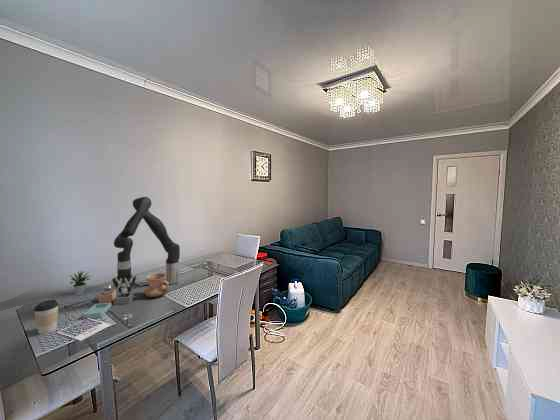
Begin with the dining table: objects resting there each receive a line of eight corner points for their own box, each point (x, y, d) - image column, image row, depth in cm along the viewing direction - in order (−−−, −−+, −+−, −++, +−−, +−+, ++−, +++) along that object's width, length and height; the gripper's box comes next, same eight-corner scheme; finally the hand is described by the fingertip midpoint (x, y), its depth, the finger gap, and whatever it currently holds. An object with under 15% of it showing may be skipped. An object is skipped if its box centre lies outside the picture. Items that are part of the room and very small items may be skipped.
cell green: (129, 295, 155) (129, 279, 154) (127, 298, 151) (127, 282, 150) (122, 295, 154) (122, 280, 153) (120, 298, 150) (119, 282, 149)
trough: (111, 306, 146) (111, 302, 146) (101, 317, 133) (101, 312, 133) (95, 307, 143) (94, 303, 143) (82, 318, 131) (82, 314, 131)
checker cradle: (136, 295, 162) (136, 289, 161) (129, 304, 149) (129, 297, 149) (122, 296, 160) (122, 290, 159) (114, 305, 147) (113, 298, 147)
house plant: (75, 299, 154) (74, 275, 153) (59, 296, 157) (58, 273, 156) (96, 290, 168) (95, 269, 167) (81, 288, 171) (80, 267, 170)
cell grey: (113, 298, 155) (112, 283, 155) (109, 301, 151) (109, 285, 150) (106, 299, 154) (105, 283, 154) (102, 302, 150) (101, 285, 150)
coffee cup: (37, 337, 114) (36, 308, 113) (32, 331, 118) (31, 303, 117) (62, 328, 121) (61, 301, 120) (56, 323, 126) (55, 297, 125)
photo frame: (80, 339, 112) (56, 331, 117) (80, 341, 112) (56, 334, 117) (110, 323, 126) (88, 317, 131) (110, 325, 126) (88, 319, 131)
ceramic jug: (138, 297, 159) (138, 278, 158) (153, 289, 173) (153, 271, 172) (160, 301, 155) (160, 281, 154) (174, 292, 169) (174, 273, 168)
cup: (116, 298, 157) (116, 290, 156) (111, 303, 150) (111, 294, 150) (104, 299, 155) (104, 290, 155) (99, 304, 148) (98, 295, 148)
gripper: (138, 264, 156) (138, 289, 157) (114, 266, 153) (115, 290, 154) (134, 268, 149) (135, 293, 150) (109, 269, 145) (110, 295, 147)
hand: (125, 292), depth 152 cm, fingers closed on cell green, 4 cm apart
